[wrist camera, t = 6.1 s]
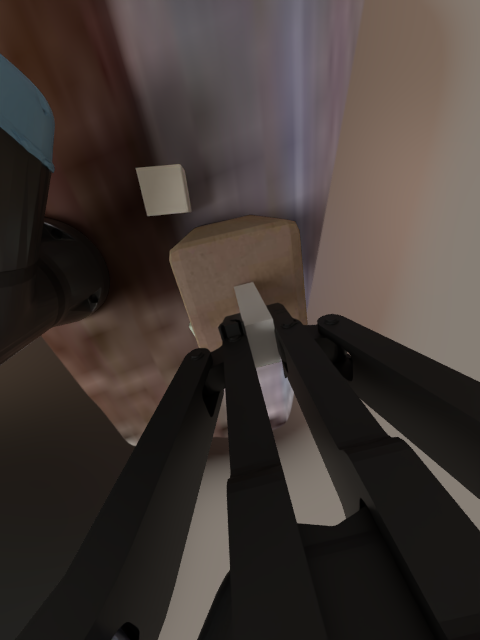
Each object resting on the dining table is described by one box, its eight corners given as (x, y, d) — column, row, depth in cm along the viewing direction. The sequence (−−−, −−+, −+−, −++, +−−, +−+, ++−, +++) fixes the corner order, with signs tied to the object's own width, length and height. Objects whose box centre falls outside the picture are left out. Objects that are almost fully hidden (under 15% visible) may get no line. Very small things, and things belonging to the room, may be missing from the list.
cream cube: (156, 215, 33) (147, 216, 28) (147, 174, 30) (135, 168, 26) (191, 211, 33) (188, 212, 28) (184, 170, 31) (179, 164, 26)
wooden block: (266, 277, 38) (312, 338, 20) (207, 291, 38) (201, 364, 20) (255, 213, 34) (303, 216, 16) (189, 228, 34) (161, 249, 16)
